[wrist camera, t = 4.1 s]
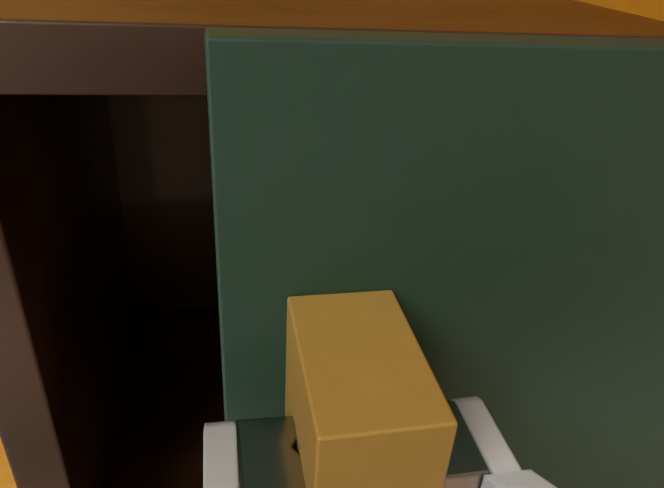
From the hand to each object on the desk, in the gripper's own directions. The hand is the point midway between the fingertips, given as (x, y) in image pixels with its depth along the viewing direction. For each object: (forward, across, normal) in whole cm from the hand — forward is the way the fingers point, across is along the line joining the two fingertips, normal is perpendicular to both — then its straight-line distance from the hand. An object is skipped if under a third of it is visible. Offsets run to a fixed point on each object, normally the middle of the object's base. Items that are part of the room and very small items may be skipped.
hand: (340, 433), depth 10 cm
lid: (+2, -5, 0) cm, 5 cm away
